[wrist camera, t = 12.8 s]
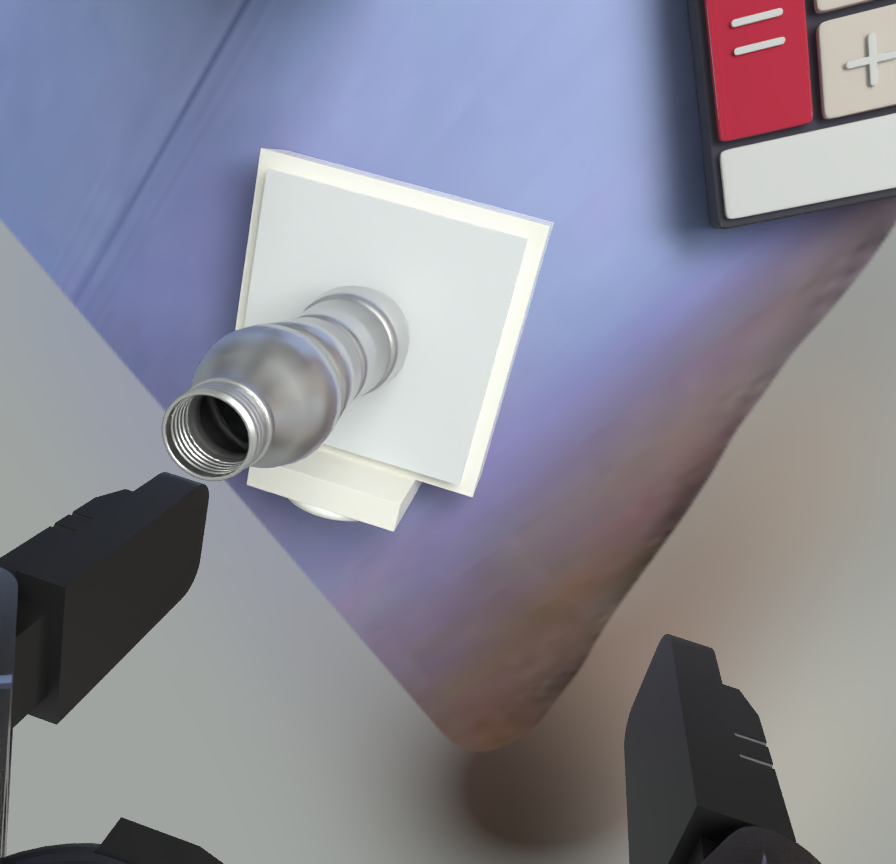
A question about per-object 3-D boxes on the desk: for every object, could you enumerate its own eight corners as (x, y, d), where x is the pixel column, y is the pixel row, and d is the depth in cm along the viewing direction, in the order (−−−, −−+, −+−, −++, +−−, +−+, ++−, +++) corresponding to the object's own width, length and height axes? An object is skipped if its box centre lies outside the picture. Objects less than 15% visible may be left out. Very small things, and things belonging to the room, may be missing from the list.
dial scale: (286, 150, 48) (230, 145, 41) (553, 222, 47) (545, 230, 39) (242, 438, 56) (187, 478, 48) (471, 509, 54) (450, 562, 47)
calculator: (929, -139, 35) (941, 188, 39) (895, -101, 39) (909, 191, 43) (688, -70, 38) (719, 230, 41) (680, -41, 42) (709, 229, 45)
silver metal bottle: (434, 363, 46) (321, 488, 27) (338, 397, 48) (173, 536, 29) (394, 263, 44) (246, 324, 26) (297, 302, 46) (94, 385, 28)
